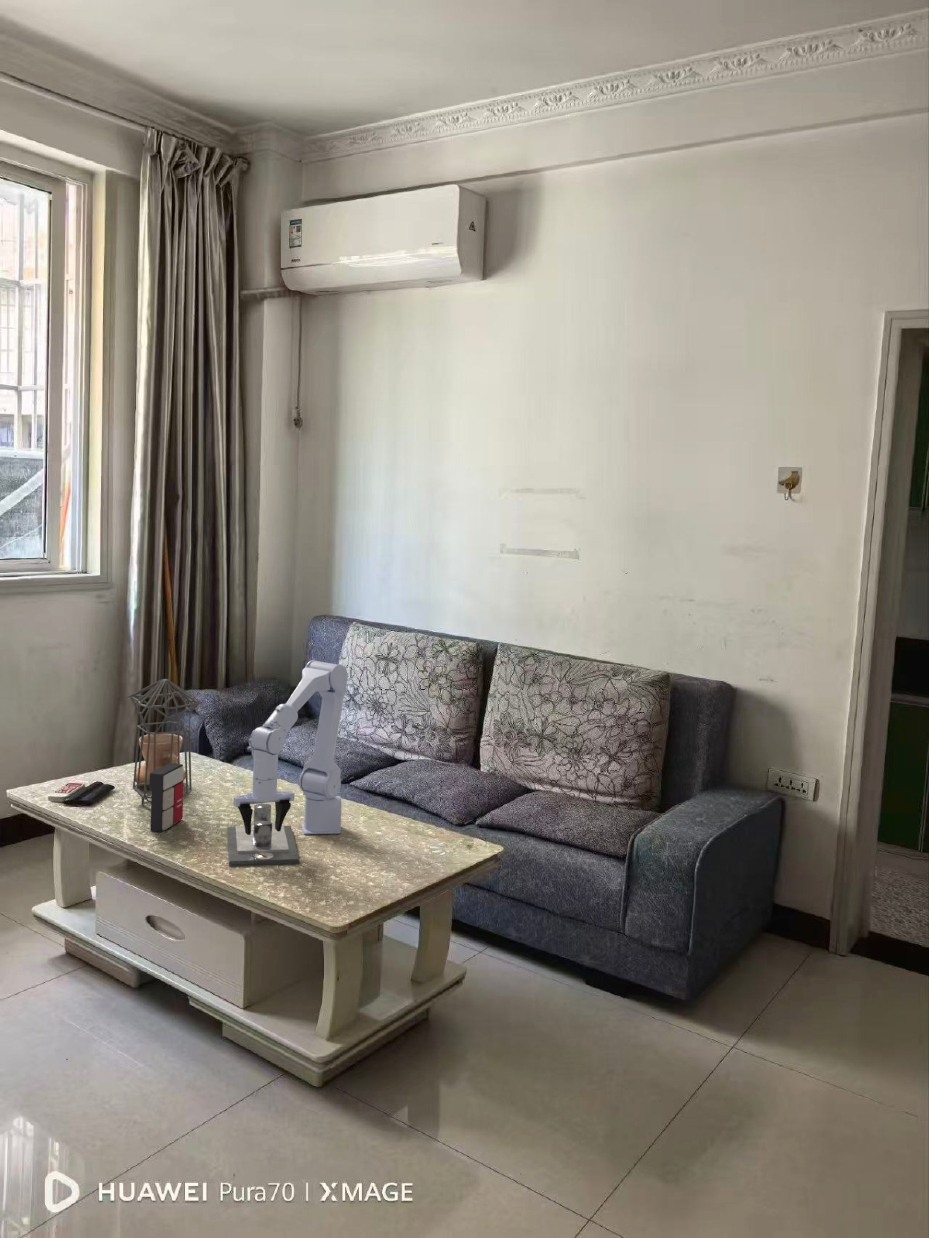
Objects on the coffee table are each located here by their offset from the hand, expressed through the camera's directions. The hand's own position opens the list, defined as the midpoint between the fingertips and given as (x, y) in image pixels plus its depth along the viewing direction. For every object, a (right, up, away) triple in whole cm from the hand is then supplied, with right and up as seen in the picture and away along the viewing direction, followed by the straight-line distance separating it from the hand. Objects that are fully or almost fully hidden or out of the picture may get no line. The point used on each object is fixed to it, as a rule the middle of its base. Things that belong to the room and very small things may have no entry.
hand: (263, 831), depth 240 cm
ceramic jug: (-39, +3, +48) cm, 62 cm away
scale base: (-1, -5, +3) cm, 6 cm away
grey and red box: (-28, -2, +15) cm, 32 cm away
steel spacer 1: (-4, -2, +20) cm, 21 cm away
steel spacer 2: (0, -3, +1) cm, 3 cm away
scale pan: (-1, -3, +5) cm, 6 cm away
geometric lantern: (-34, 0, +30) cm, 45 cm away
